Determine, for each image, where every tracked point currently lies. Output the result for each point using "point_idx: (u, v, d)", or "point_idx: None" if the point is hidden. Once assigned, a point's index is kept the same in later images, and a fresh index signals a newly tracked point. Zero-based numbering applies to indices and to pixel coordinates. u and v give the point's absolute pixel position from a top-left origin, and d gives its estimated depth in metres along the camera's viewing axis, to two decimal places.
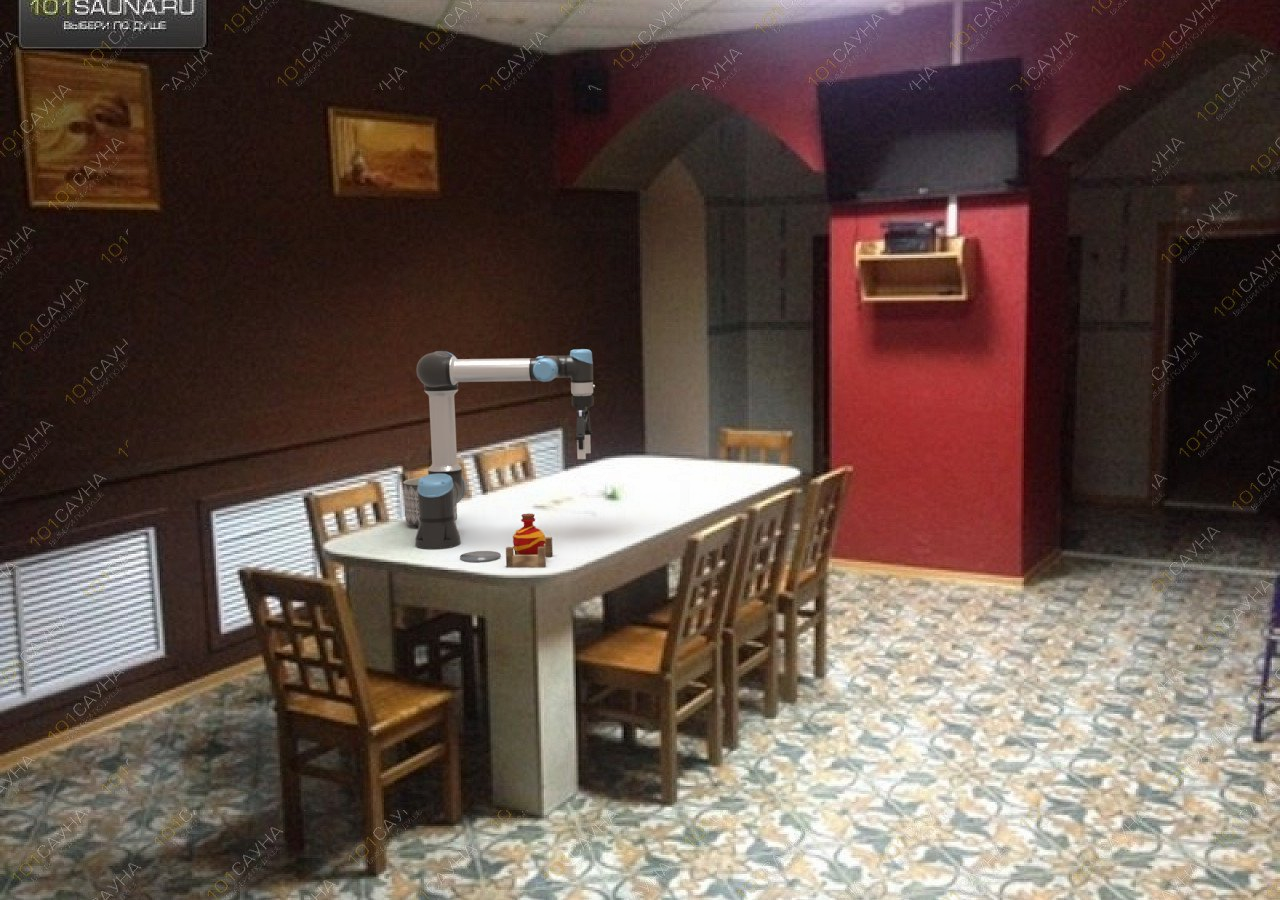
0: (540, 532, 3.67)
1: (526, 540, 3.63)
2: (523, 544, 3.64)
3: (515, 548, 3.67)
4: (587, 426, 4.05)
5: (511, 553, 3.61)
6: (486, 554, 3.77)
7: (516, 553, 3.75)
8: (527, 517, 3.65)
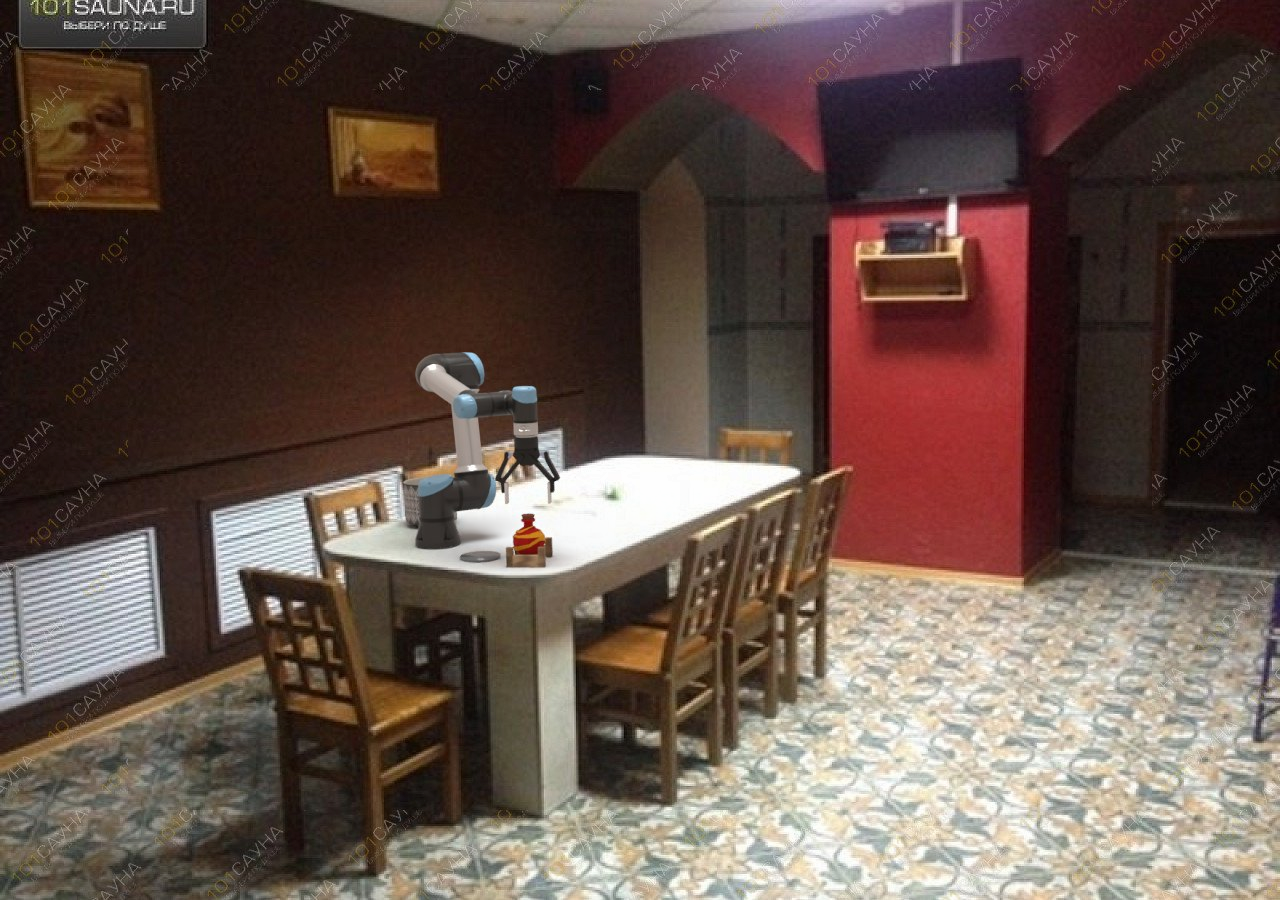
0: (540, 532, 3.67)
1: (526, 540, 3.63)
2: (523, 544, 3.64)
3: (515, 548, 3.67)
4: None
5: (511, 553, 3.61)
6: (486, 554, 3.77)
7: (516, 553, 3.75)
8: (527, 517, 3.65)
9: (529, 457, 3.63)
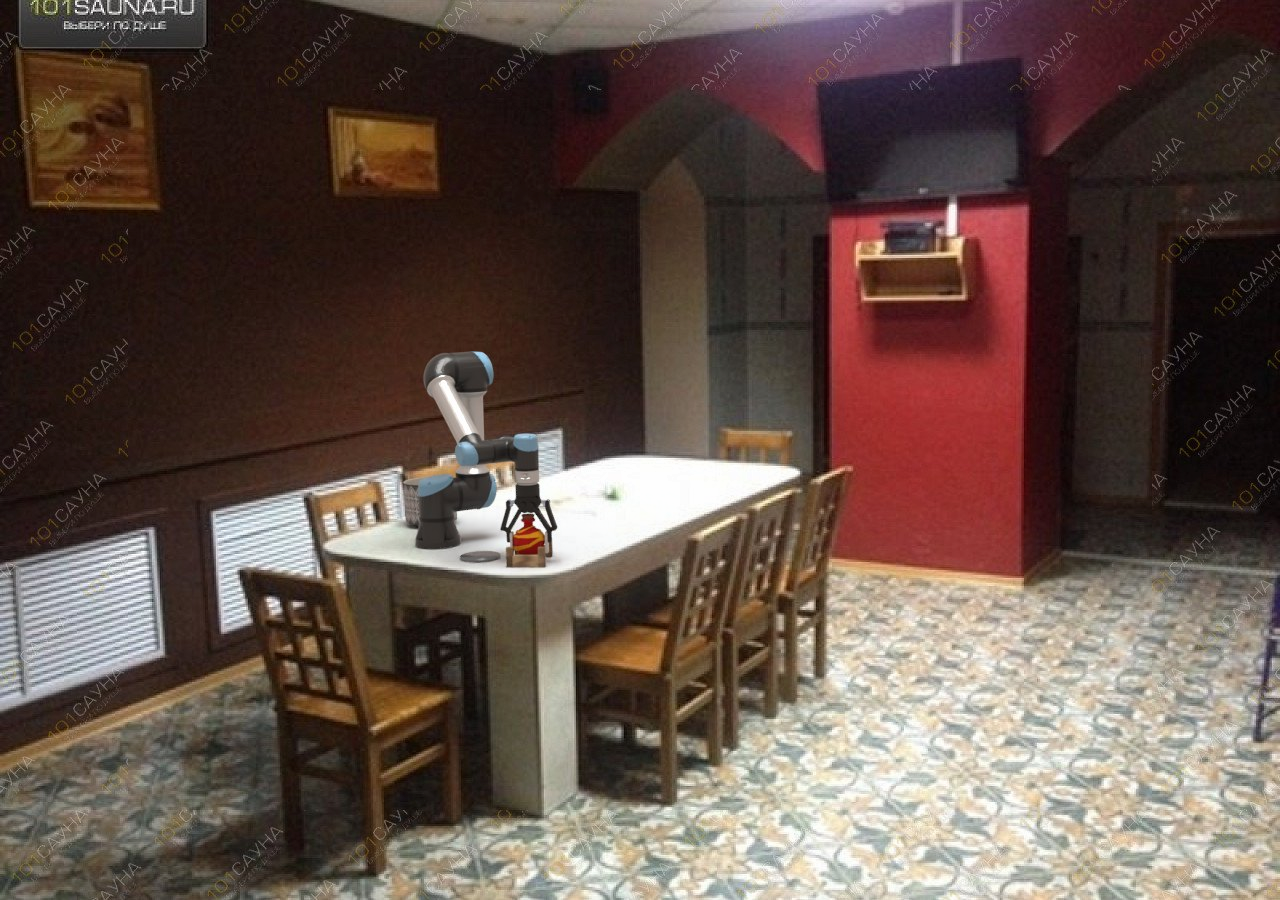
0: (540, 532, 3.67)
1: (526, 540, 3.63)
2: (523, 544, 3.64)
3: (515, 548, 3.67)
4: None
5: (511, 553, 3.61)
6: (486, 554, 3.77)
7: (516, 553, 3.75)
8: (527, 517, 3.65)
9: (530, 504, 3.65)
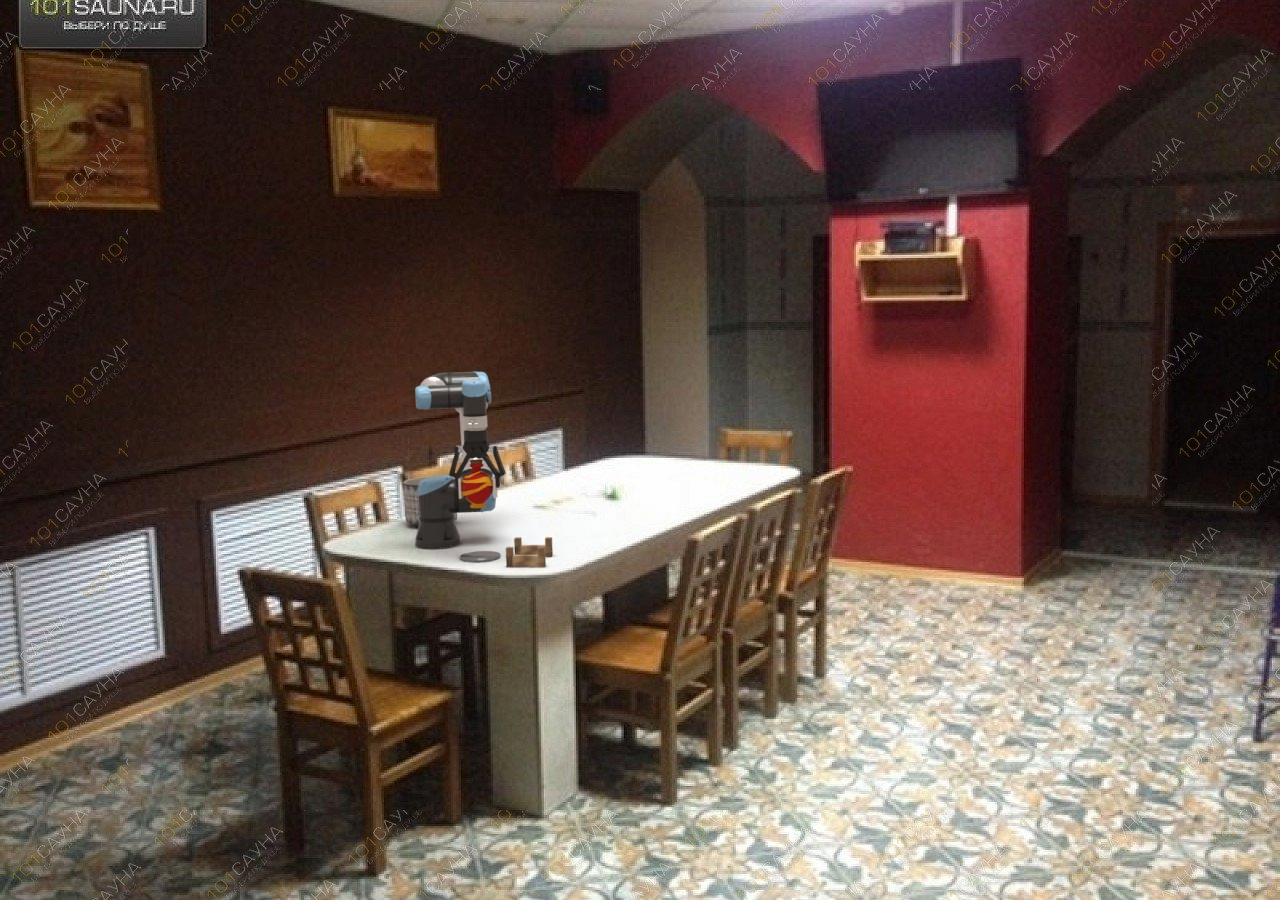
0: (488, 477, 3.71)
1: (474, 485, 3.68)
2: (471, 489, 3.68)
3: (463, 493, 3.71)
4: None
5: (511, 553, 3.61)
6: (486, 554, 3.77)
7: (516, 553, 3.75)
8: (475, 462, 3.69)
9: (478, 450, 3.69)
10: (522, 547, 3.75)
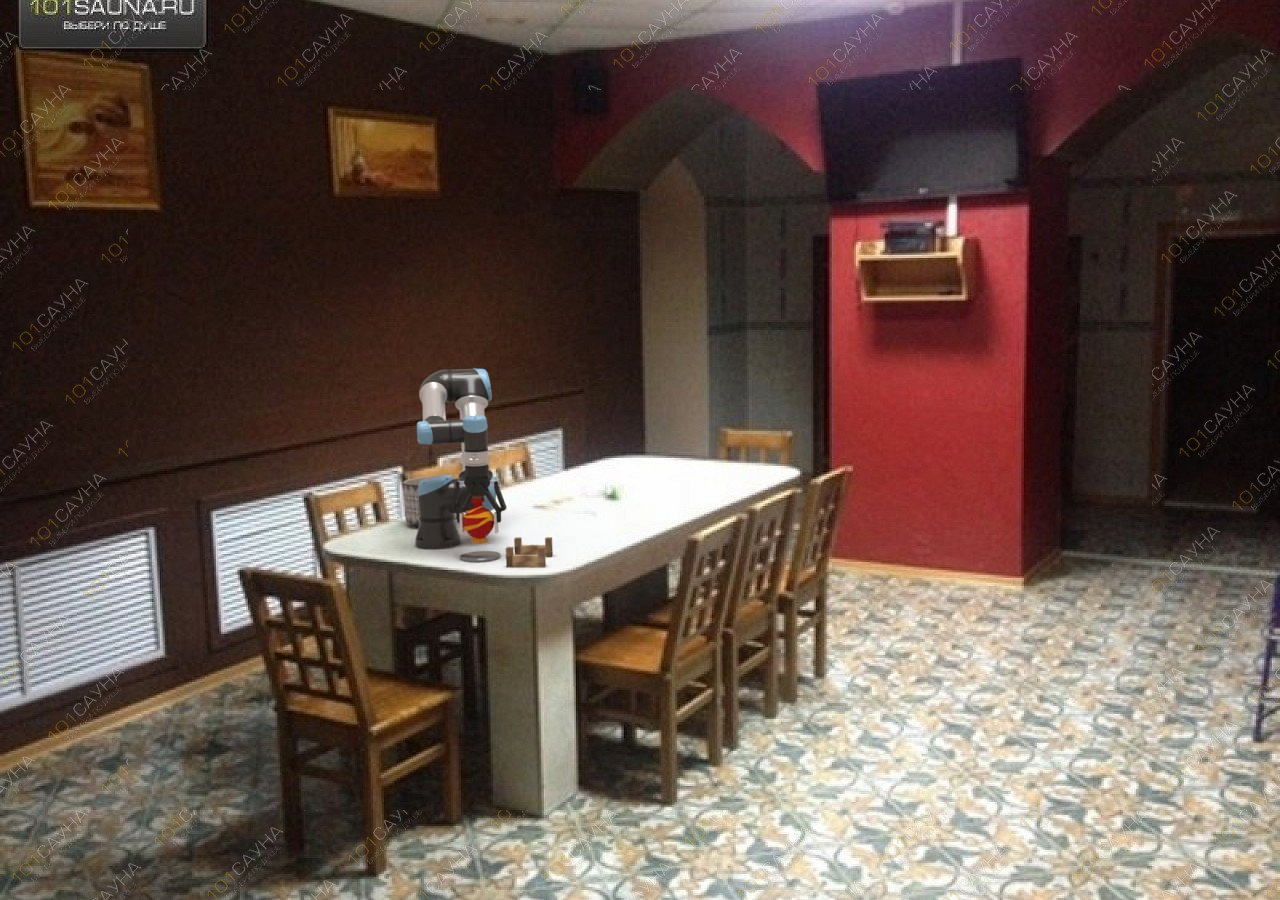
0: (489, 512, 3.72)
1: (475, 520, 3.69)
2: (472, 524, 3.69)
3: (465, 528, 3.72)
4: None
5: (511, 553, 3.61)
6: (486, 554, 3.77)
7: (516, 553, 3.75)
8: (476, 497, 3.71)
9: (479, 485, 3.70)
10: (522, 547, 3.75)
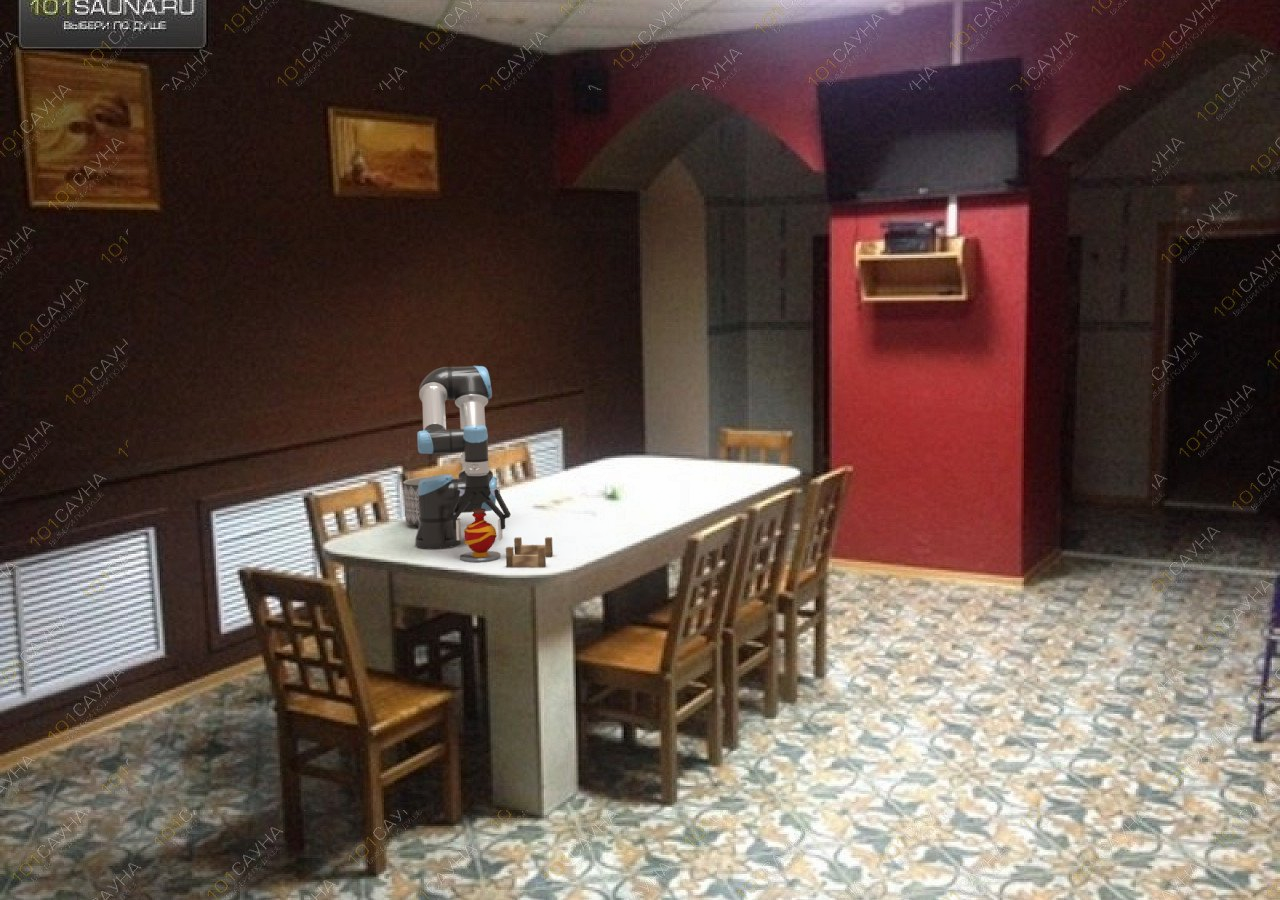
0: (491, 526, 3.73)
1: (477, 535, 3.70)
2: (473, 539, 3.70)
3: (466, 542, 3.73)
4: None
5: (511, 553, 3.61)
6: None
7: (516, 553, 3.75)
8: (478, 512, 3.72)
9: (480, 495, 3.71)
10: (522, 547, 3.75)
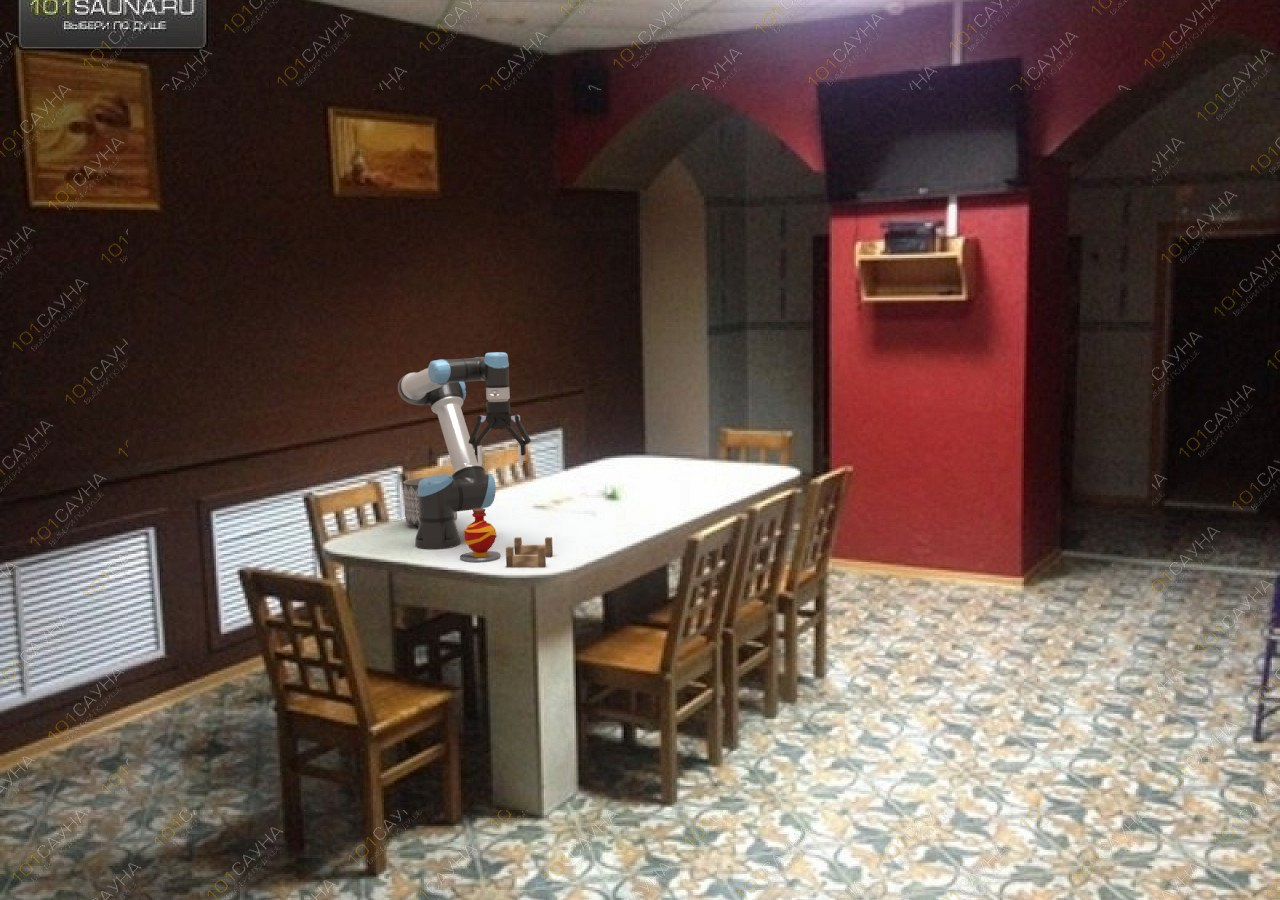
0: (491, 526, 3.73)
1: (477, 535, 3.70)
2: (473, 539, 3.70)
3: (466, 542, 3.73)
4: None
5: (511, 553, 3.61)
6: None
7: (516, 553, 3.75)
8: (478, 512, 3.72)
9: (500, 421, 3.76)
10: (522, 547, 3.75)
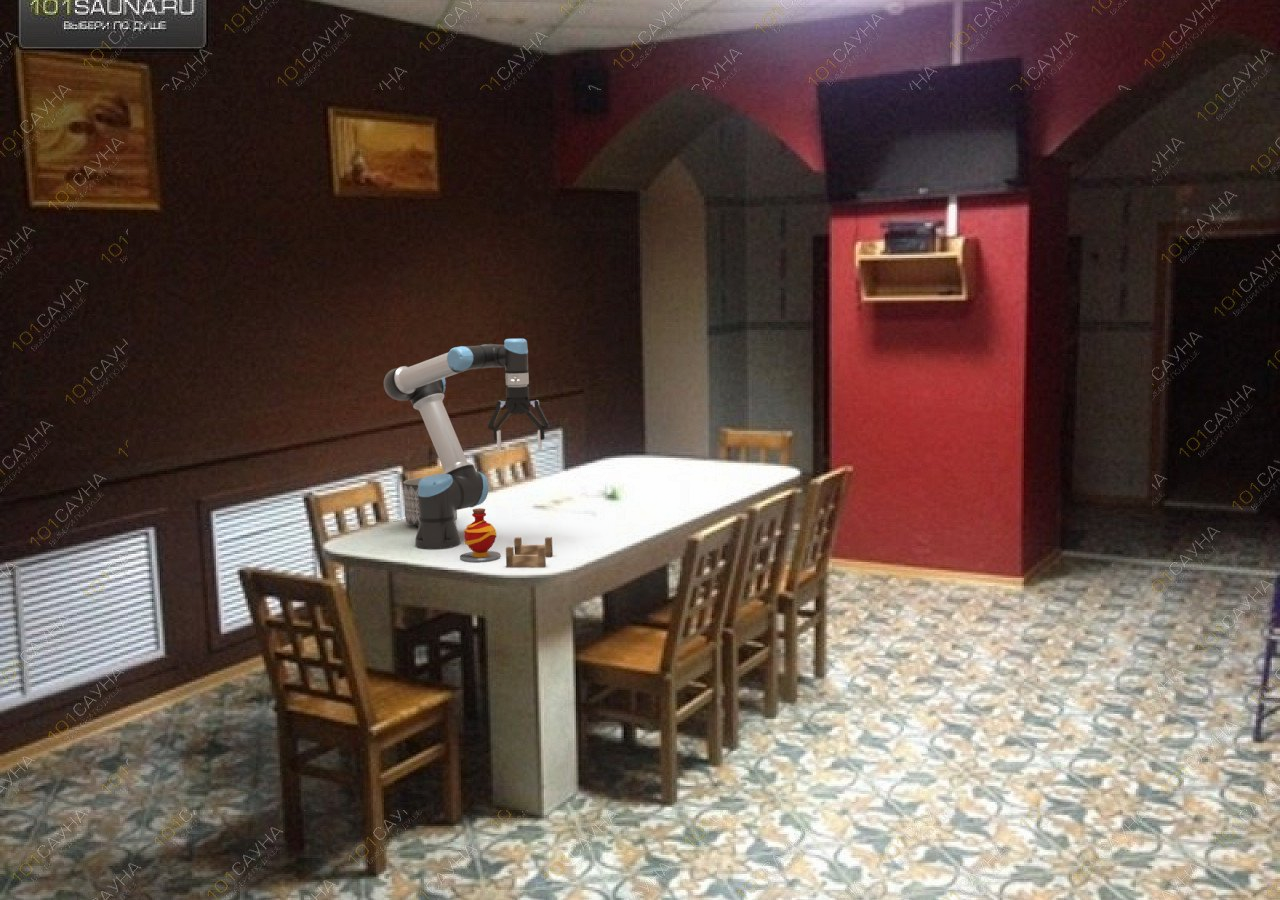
0: (491, 526, 3.73)
1: (477, 535, 3.70)
2: (473, 539, 3.70)
3: (466, 542, 3.73)
4: None
5: (511, 553, 3.61)
6: None
7: (516, 553, 3.75)
8: (478, 512, 3.72)
9: (520, 406, 3.82)
10: (522, 547, 3.75)
